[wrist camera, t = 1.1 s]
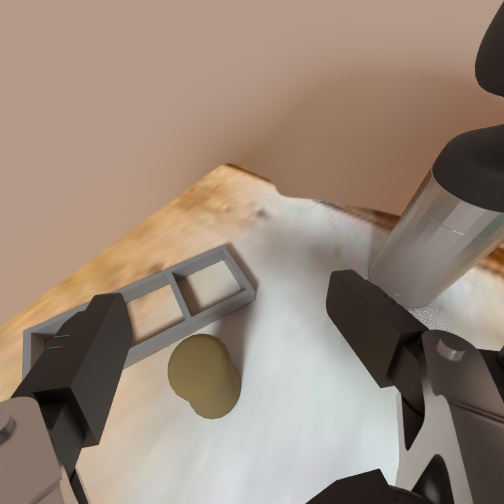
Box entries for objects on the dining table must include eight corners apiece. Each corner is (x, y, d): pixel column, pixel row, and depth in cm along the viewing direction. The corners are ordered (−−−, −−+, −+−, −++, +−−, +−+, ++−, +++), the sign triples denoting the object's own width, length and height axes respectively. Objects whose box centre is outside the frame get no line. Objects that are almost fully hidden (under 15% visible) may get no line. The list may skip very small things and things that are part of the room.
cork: (191, 360, 29) (165, 324, 21) (241, 358, 29) (235, 322, 21) (184, 420, 26) (148, 407, 17) (241, 418, 26) (233, 403, 17)
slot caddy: (225, 254, 40) (224, 244, 38) (255, 299, 34) (255, 290, 32) (37, 337, 31) (23, 330, 29) (38, 414, 26) (21, 411, 24)
